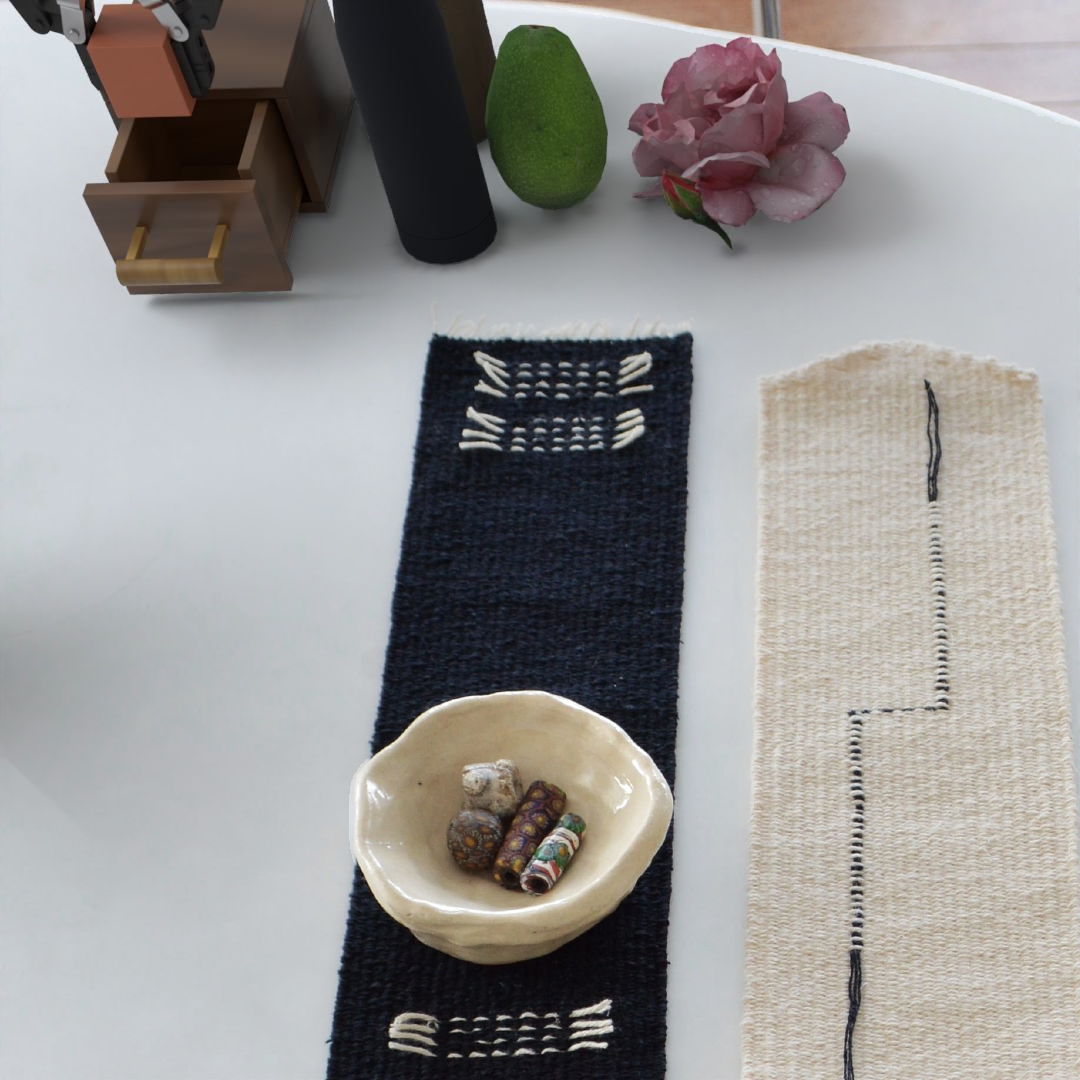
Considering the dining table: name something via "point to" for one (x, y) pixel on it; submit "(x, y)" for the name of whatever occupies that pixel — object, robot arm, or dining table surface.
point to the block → (138, 64)
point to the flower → (738, 140)
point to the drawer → (201, 200)
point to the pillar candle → (471, 55)
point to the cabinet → (286, 79)
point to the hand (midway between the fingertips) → (159, 90)
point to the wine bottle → (417, 125)
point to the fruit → (545, 119)
